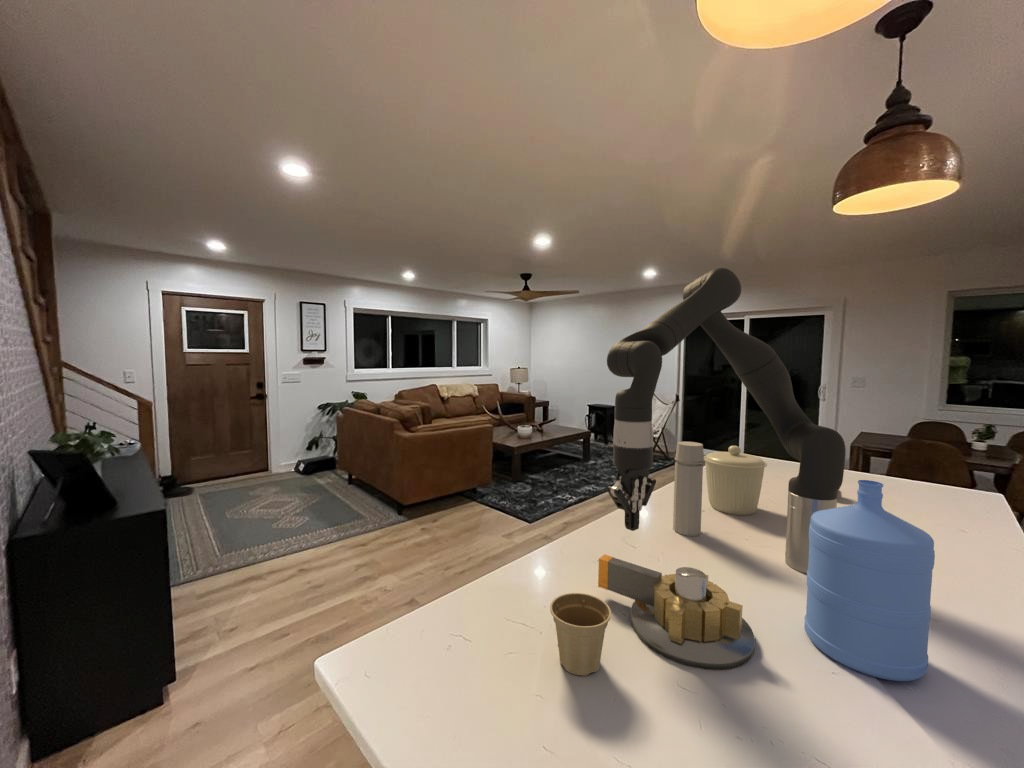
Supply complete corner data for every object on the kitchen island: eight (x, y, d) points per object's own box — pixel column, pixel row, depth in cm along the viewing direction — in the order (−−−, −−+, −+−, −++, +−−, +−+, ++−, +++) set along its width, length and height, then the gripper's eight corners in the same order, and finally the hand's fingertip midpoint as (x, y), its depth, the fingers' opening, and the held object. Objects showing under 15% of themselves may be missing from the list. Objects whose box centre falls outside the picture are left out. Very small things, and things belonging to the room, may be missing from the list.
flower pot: (544, 643, 71) (545, 593, 70) (599, 640, 71) (600, 591, 71) (555, 686, 61) (556, 628, 61) (618, 682, 62) (619, 625, 62)
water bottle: (694, 540, 112) (697, 447, 111) (666, 531, 118) (669, 443, 117) (709, 531, 118) (712, 443, 117) (682, 523, 124) (685, 439, 123)
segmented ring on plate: (600, 580, 87) (600, 551, 87) (731, 603, 80) (732, 572, 79) (588, 624, 73) (589, 590, 72) (748, 658, 65) (750, 620, 64)
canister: (765, 508, 138) (768, 444, 137) (764, 525, 123) (767, 454, 122) (705, 498, 148) (707, 438, 147) (697, 513, 133) (699, 447, 132)
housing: (731, 603, 83) (733, 553, 82) (775, 678, 63) (778, 613, 63) (626, 592, 86) (627, 545, 86) (637, 660, 67) (638, 598, 66)
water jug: (893, 698, 60) (904, 503, 58) (783, 632, 74) (790, 475, 73) (948, 667, 66) (960, 490, 64) (837, 612, 80) (845, 467, 79)
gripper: (627, 450, 76) (626, 544, 77) (669, 441, 84) (667, 526, 85) (595, 443, 82) (595, 531, 83) (637, 436, 90) (636, 516, 91)
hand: (632, 528), depth 84 cm, fingers closed
